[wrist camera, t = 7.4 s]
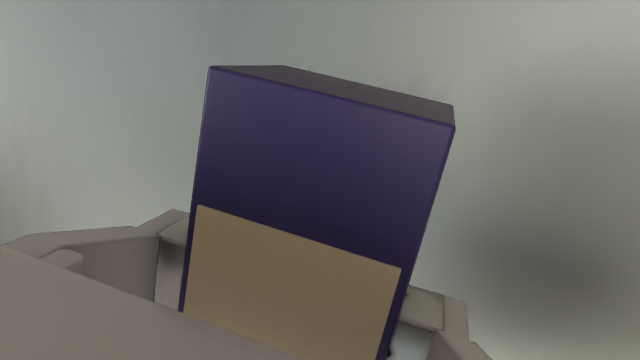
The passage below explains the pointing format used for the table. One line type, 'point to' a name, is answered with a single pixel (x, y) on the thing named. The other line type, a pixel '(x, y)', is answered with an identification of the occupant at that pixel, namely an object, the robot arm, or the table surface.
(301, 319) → the purple box
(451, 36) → the table surface
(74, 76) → the table surface
